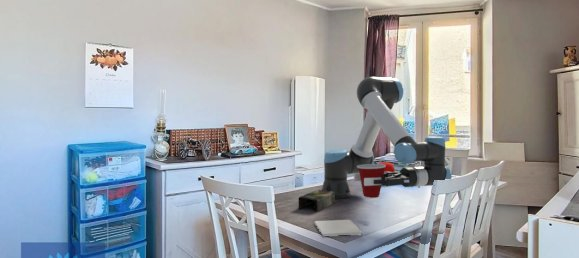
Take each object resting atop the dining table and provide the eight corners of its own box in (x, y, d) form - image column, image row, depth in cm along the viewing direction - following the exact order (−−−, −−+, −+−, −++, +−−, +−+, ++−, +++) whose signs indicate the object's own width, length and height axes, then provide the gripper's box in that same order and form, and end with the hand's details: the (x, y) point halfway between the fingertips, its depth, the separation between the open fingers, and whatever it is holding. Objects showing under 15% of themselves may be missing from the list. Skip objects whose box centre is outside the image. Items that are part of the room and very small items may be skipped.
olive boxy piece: (317, 199, 171) (317, 187, 170) (336, 202, 165) (336, 190, 165) (297, 210, 153) (297, 196, 153) (317, 213, 148) (317, 199, 148)
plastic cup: (363, 191, 139) (364, 161, 138) (389, 195, 132) (390, 164, 132) (351, 196, 130) (351, 164, 130) (378, 201, 124) (378, 168, 123)
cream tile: (314, 223, 133) (314, 221, 133) (349, 222, 135) (349, 219, 135) (322, 236, 120) (322, 233, 120) (361, 235, 121) (361, 232, 121)
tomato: (395, 184, 205) (395, 163, 204) (376, 183, 207) (376, 162, 207) (394, 181, 216) (394, 160, 215) (376, 180, 218) (376, 159, 218)
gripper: (429, 192, 125) (372, 196, 120) (397, 181, 146) (347, 183, 140) (429, 172, 125) (372, 174, 120) (398, 163, 145) (348, 165, 140)
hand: (359, 179), depth 130 cm, fingers closed on plastic cup, 8 cm apart
